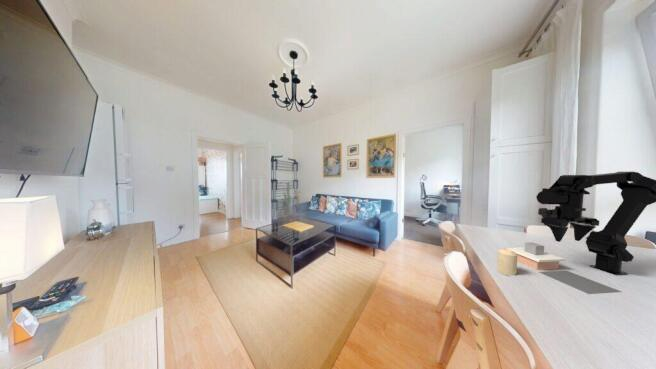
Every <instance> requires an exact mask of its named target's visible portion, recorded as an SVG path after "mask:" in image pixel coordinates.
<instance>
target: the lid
mask: <svg viewBox="0 0 656 369" xmlns="http://www.w3.org/2000/svg"><path fill="white" fill-rule="evenodd" d="M507 248H508V249H510V250H512V251H513V252H515V253H517V254H519V255H522V256H524V257H527V258H530V259H532V260H535V261H537V262H553V261H559V262H565V261H566V259H565V258H563V257H561V256H558V255H554V254H551V253H548V252H547V251H546V252H545V245H543V244H539V243H537V242H534V241H533V242H524V246H522V247H521V246H519V247H507Z"/></svg>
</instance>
